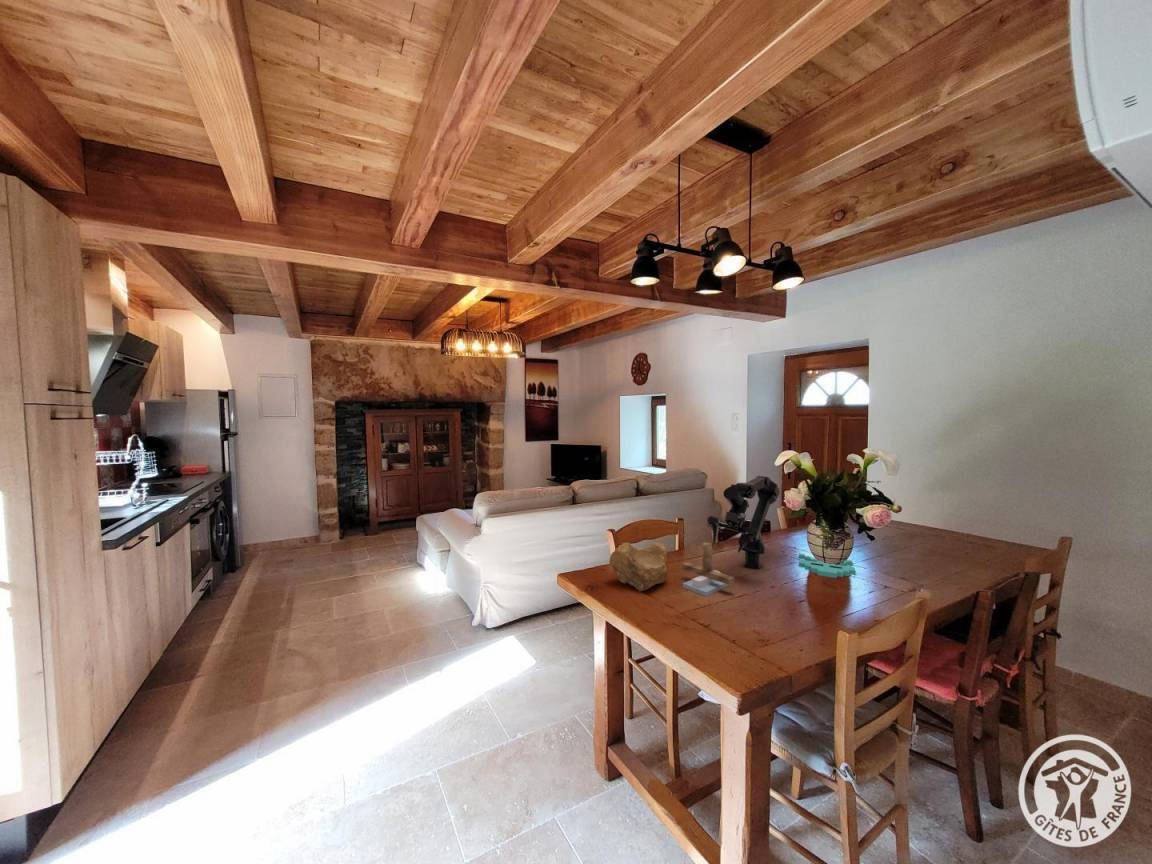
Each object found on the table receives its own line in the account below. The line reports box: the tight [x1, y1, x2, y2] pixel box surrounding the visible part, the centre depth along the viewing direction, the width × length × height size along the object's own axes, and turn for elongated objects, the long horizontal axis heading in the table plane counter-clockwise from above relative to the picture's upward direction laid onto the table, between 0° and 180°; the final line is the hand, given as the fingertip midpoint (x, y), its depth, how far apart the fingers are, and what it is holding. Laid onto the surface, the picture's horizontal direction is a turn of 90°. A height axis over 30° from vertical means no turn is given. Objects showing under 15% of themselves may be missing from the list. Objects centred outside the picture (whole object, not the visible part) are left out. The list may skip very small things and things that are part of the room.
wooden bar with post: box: [681, 542, 735, 586], centre depth 159 cm, size 20×3×12 cm, turn 40°
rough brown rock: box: [609, 542, 669, 592], centre depth 160 cm, size 23×17×15 cm
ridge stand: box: [682, 569, 732, 597], centre depth 159 cm, size 16×10×4 cm, turn 130°
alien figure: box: [798, 553, 856, 579], centre depth 178 cm, size 20×2×20 cm
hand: (726, 548), depth 163 cm, fingers open, 9 cm apart
